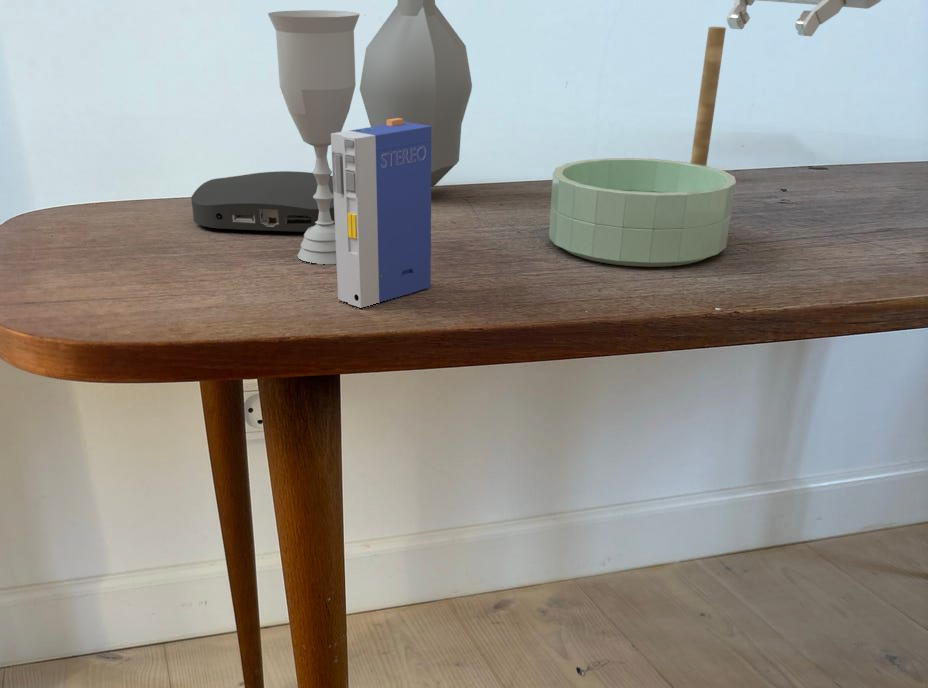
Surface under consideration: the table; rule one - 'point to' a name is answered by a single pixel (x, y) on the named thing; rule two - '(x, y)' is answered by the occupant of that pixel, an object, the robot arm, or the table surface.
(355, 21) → the chalice
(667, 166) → the bowl
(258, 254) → the table surface
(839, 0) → the robot arm
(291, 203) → the media streaming box
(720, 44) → the stirring stick
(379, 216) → the walkman
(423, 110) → the grey faceted vase
